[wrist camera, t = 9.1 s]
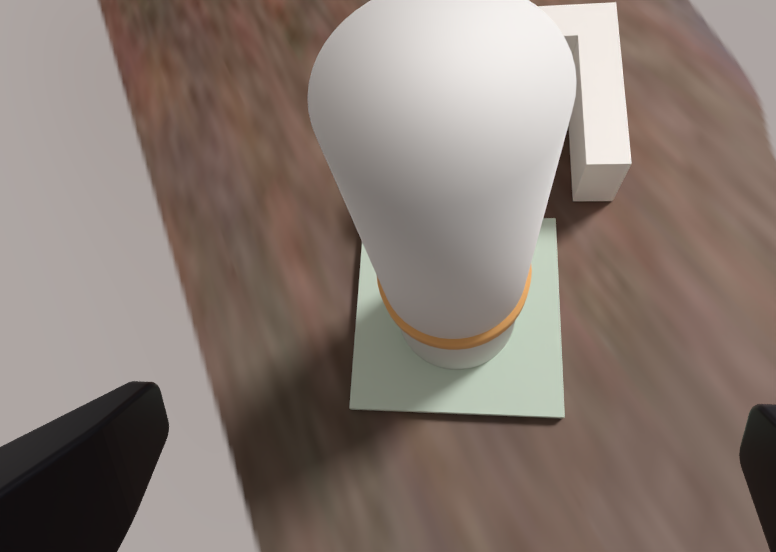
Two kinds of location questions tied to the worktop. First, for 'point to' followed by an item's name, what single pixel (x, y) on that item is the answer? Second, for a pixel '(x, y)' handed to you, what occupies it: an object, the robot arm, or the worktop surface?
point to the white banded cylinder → (446, 158)
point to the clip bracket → (595, 100)
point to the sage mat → (474, 385)
